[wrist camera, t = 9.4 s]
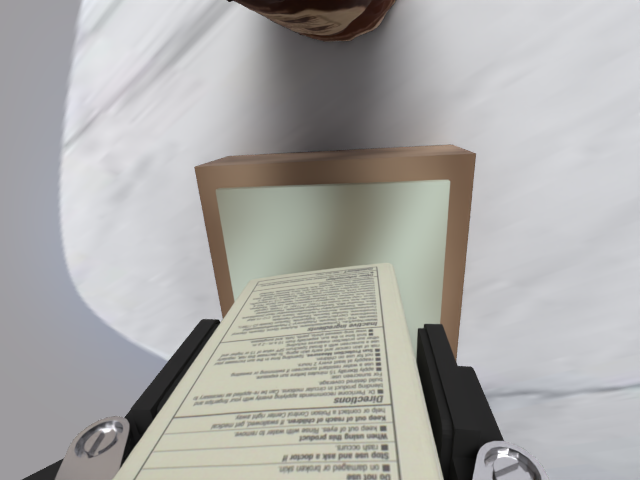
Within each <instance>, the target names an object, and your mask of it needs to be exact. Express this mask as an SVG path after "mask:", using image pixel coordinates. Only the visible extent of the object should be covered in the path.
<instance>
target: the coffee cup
mask: <svg viewBox="0 0 640 480" xmlns="http://www.w3.org/2000/svg"><path fill="white" fill-rule="evenodd" d="M227 1H228V2H231V1H235V2H237V3H239V4H241V5H243V6H245V7H247V8H248V9H250V10H253V11H255V12H257V13H259V14H261V15H263V16H265V17H266V18H268V19H270V20H271V21H273V22H275V23H277V24H279V25H281V26H283V27H286V28H288V29H290V30H292V31H294V32H297V33H299V34H300V35H304V36H307V37H310V38H313V39H316V40H321V41H350V40H353V39H354V38H355V37H357V36H359V35H362V34H365V33H367V32H370V31H373V30H374V29H375V28H377V27H378V26H379V25H380V23H381V22H382V20H383V18H384V16H385V14H386V12H387V11H388V10H389V9H390V8H391V6H392V5H394V3H395V1H396V0H227Z"/></svg>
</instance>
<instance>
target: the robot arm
mask: <svg viewBox="0 0 640 480" xmlns="http://www.w3.org/2000/svg"><path fill="white" fill-rule="evenodd" d="M219 324H220V321H219V320H213V319H203V320H201V321H200V322H199V323H198V325H197V326H196V327H195V328H194V330H193V331H192V332H191V334H190V335H189V336H188V337H187V339H186V340H185V341H184V342H183V344H182V345H181V346H180V347H179V349H178V350H177V351H176V352H175V354H174V355H173V356H172V357H171V359H170V360H169V361H168V362H167V364H166V365H165V366H164V368H163V369H162V370H161V371H160V373H159V374H158V375H157V376H156V378H155V379H154V380H153V382H152V383H151V384H150V385H149V386H148V388H147V389H146V390H145V391H144V393H143V394H142V395H141V396H140V398H139V399H138V400H137V401H136V403H135V404H134V405H133V407H132V408H131V410H130V411H129V413H128V414H127V415H126V416H125V418H123V417H120V416H119V417H118V416H112V417H106V418H104V419H101V420H98V421H96V422H95V423H93V424H91V425H89V426H88V427H86V428H85V429H84V430H83V431H81V432H80V433H79V434H78V435H77V436H76V437H75V438H74V439H73V441H72V443H71V444H70V446H69V448H68V450H67V453H66V455H65V457H64V458H63V459H62V460H60V461H58V462H56V463H54V464H52V465H50V466H48V467H46V468H44V469H42V470H40V471H38V472H36V473H34V474H32V475H30V476H28V477H26V478H24V479H23V480H112V479H113V478H114V477H115V475H116V474H117V472H118V471H119V470H120V468H121V467H122V465H123V464H124V462H125V461H126V459H127V458H128V456H129V455H130V453H131V452H132V450H133V449H134V447H135V446H136V445H137V443H138V442H139V440H140V439H141V438H142V436H143V435H144V433H145V432H146V430H147V429H148V427H149V426H150V425H151V423H152V422H153V420H154V419H155V417H156V416H157V414H158V413H159V412H160V410H161V409H162V407H163V406H164V404H165V403H166V402H167V400H168V399H169V397H170V396H171V394H172V393H173V391H174V390H175V388H176V387H177V385H178V384H179V382H180V381H181V379H182V378H183V377H184V375H185V374H186V372H187V371H188V369H189V368H190V366H191V365H192V363H193V362H194V360H195V359H196V358H197V356H198V355H199V353H200V352H201V351H202V349H203V348H204V346H205V345H206V343H207V342H208V340H209V339H210V337H211V336H212V335H213V333H214V332H215V330H216V329H217V327H218V326H219ZM416 364H417V368H418V372H419V376H420V381H421V385H422V390H423V394H424V398H425V403H426V407H427V411H428V416H429V420H430V424H431V428H432V432H433V437H434V441H435V445H436V449H437V454H438V458H439V462H440V466H441V470H442V475H443V479H444V480H549V477H548V474H547V473H546V471H545V469H544V467H543V466H542V465H541V463H540V462H539V461H538V460H537V459H536V458H535V457H534V456H533V455H532V454H530V453H529V452H528V451H526V450H525V449H523V448H521V447H519V446H517V445H515V444H512V443H508V442H505V441H504V440H503V437H502V435H501V433H500V430H499V428H498V426H497V423H496V421H495V418H494V416H493V414H492V411H491V409H490V407H489V404H488V402H487V399H486V397H485V395H484V392H483V390H482V388H481V385H480V383H479V380H478V378H477V376H476V373H475V371H474V369H473V368H472V367H466V366H457V363H456V360H455V358H454V355H453V352H452V349H451V347H450V344H449V341H448V338H447V336H446V333H445V330H444V327H443V325H442V324H424V328H418V333H417V355H416Z"/></svg>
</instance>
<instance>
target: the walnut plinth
mask: <svg viewBox="0 0 640 480" xmlns="http://www.w3.org/2000/svg"><path fill="white" fill-rule="evenodd" d="M475 158H476V153H473V152H470V151H468V150H465V149H462V148H460V147H457V146H454V145H435V146H415V147H396V148H376V149H357V150H337V151H318V152H298V153H279V154H259V155H239V156H227V157H224V158H221V159H218V160H215V161H211V162H208V163H205V164H202V165H199V166H195V167H194V168H195V173H196V178H197V184H198V189H199V194H200V200H201V205H202V210H203V215H204V221H205V226H206V231H207V237H208V242H209V247H210V253H211V258H212V263H213V268H214V274H215V279H216V284H217V290H218V295H219V300H220V306H221V311H222V316H223V318H224V317H225V316H226V314H227V313H228V311H229V310H230V308H231V307H232V305H233V304H234V302H235V301H236V299H237V298H238V296H239V295H240V294H241V292H242V291H243V289H244V288H245V286H246V285H247V283H248V282H249V281H250V280H253V279H258V278H265V277H271V276H277V275H284V274H292V273H300V272H308V271H317V270H325V269H333V268H341V267H350V266H359V265H369V264H379V263H390V264H392V265H393V267H394V269H395V274H396V278H397V283H398V286H399V290H400V294H401V299H402V303H403V308H404V313H405V317H406V322H407V326H408V330H409V334H410V338H411V342H412V347H413V351H414V355H415V359H416V355H417V333H418V328H424V324H442V325H443V327H444V330H445V333H446V336H447V338H448V341H449V344H450V347H451V349H452V352H453V355H454V358H455V360H456V358H457V347H458V337H459V326H460V316H461V305H462V295H463V284H464V274H465V263H466V253H467V242H468V232H469V221H470V211H471V200H472V190H473V179H474V169H475Z"/></svg>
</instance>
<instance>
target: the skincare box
mask: <svg viewBox="0 0 640 480" xmlns="http://www.w3.org/2000/svg"><path fill="white" fill-rule="evenodd" d="M112 480H444V479H443V475H442V470H441V466H440V462H439V458H438V454H437V449H436V445H435V441H434V437H433V432H432V428H431V424H430V420H429V416H428V411H427V407H426V403H425V398H424V394H423V390H422V385H421V381H420V376H419V372H418V368H417V364H416V359H415V355H414V351H413V347H412V342H411V338H410V334H409V330H408V326H407V322H406V317H405V313H404V308H403V303H402V299H401V294H400V290H399V286H398V283H397V278H396V274H395V269H394V267H393V265H392V264H390V263H379V264H369V265H359V266H350V267H341V268H333V269H325V270H317V271H308V272H300V273H292V274H284V275H277V276H271V277H265V278H258V279H253V280H250V281H249V282H248V283H247V285H246V286H245V288H244V289H243V291H242V292H241V294H240V295H239V296H238V298H237V299H236V301H235V302H234V304H233V305H232V307H231V308H230V310H229V311H228V313H227V314H226V316H225V317H224V318H223V320H222V321H221V323H220V324H219V326H218V327H217V329H216V330H215V332H214V333H213V335H212V336H211V337H210V339H209V340H208V342H207V343H206V345H205V346H204V348H203V349H202V351H201V352H200V353H199V355H198V356H197V358H196V359H195V360H194V362H193V363H192V365H191V366H190V368H189V369H188V371H187V372H186V374H185V375H184V377H183V378H182V379H181V381H180V382H179V384H178V385H177V387H176V388H175V390H174V391H173V393H172V394H171V396H170V397H169V399H168V400H167V402H166V403H165V404H164V406H163V407H162V409H161V410H160V412H159V413H158V414H157V416H156V417H155V419H154V420H153V422H152V423H151V425H150V426H149V427H148V429H147V430H146V432H145V433H144V435H143V436H142V438H141V439H140V440H139V442H138V443H137V445H136V446H135V447H134V449H133V450H132V452H131V453H130V455H129V456H128V458H127V459H126V461H125V462H124V464H123V465H122V467H121V468H120V470H119V471H118V472H117V474H116V475H115V477H114V478H113V479H112Z"/></svg>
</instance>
